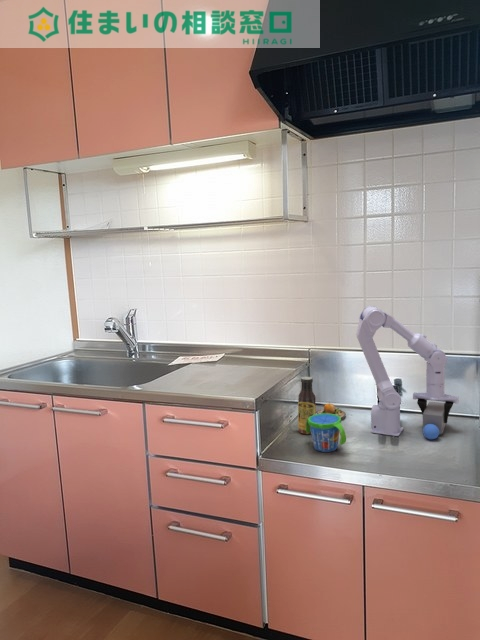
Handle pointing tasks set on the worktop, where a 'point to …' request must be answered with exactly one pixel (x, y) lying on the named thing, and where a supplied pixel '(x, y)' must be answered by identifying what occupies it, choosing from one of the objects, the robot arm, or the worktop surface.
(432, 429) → the ball
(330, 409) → the fruit bowl
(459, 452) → the worktop surface
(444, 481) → the worktop surface
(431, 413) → the grey rectangular block
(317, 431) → the snack cup
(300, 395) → the sauce bottle
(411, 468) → the worktop surface
